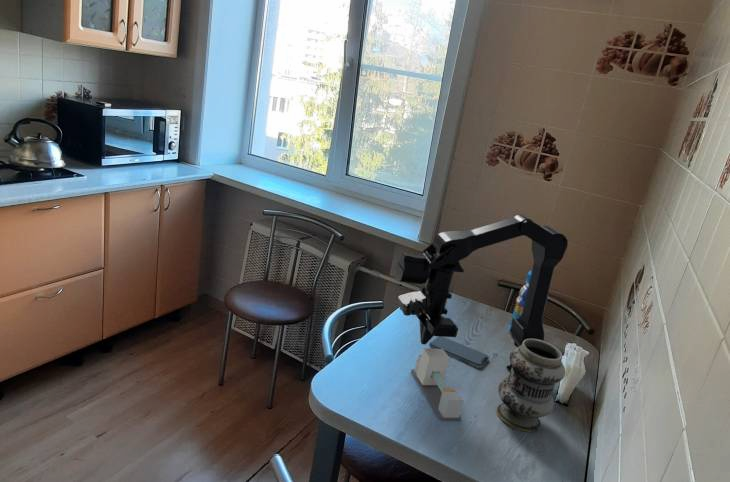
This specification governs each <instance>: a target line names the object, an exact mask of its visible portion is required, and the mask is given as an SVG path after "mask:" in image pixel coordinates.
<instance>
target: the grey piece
mask: <svg viewBox="0 0 730 482" xmlns="http://www.w3.org/2000/svg"><path fill="white" fill-rule="evenodd" d="M421 356H422V354H418V355H417V359H416V364H415V366H414V369H411V372H410V373H411V375H412V376H413V378H414V380H415V382H416V383H417V384H418V387H419V389H420V390H421V392H422V393H423V395H424V397H425V398H426V400H427V402H428V404H429V406H430V407H431V409H432V410H433V413H434V414H435V416H436V417H437V419H438V421H439V422H443V421H444V422H445V421H446V422H449V421H450V422H453V421H455V422H456V421H458V422H459V421H462V416H461V414H460V413H461V411H462V407H463V404H464V398H463V397H462V395H461V394H460V393H459V391H456V389H455V388H452V387H451V388H449V387H448V385H447V384H446V382H445V381H444V380H443V379H442V378H441V376H440V375H439V373H438V372H436V371H432V375H431V376H432V378H433V379H434V381H435V382H436V384H437V385H422V384H421V382H420V380H419V378H418V377H417V371H418V367H419V363H420V360H421Z"/></svg>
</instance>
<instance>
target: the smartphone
mask: <svg viewBox="0 0 730 482" xmlns="http://www.w3.org/2000/svg"><path fill="white" fill-rule="evenodd" d="M429 347H430V348H432V349H443V350H444V351H445V353H446V354H447V355H448V357H451V358H453V359H455V360H458V361H460V362H462V363H465V364H466V365H469V366H472V367H474V368H476V369H481V368H482V367H483V366H484V365H485V364H486V363H487V362H488V361H489V355H488V354H486V353H483V352H481V351H479V350H476V349H475V348H471V347H470V346H468V345H467V346H466V345H464V344H461V343H460V342H458V341H454V340H452V339H450V338H447V337H441V336H436V338H434V339H433V340H432V341H430V342H429Z"/></svg>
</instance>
